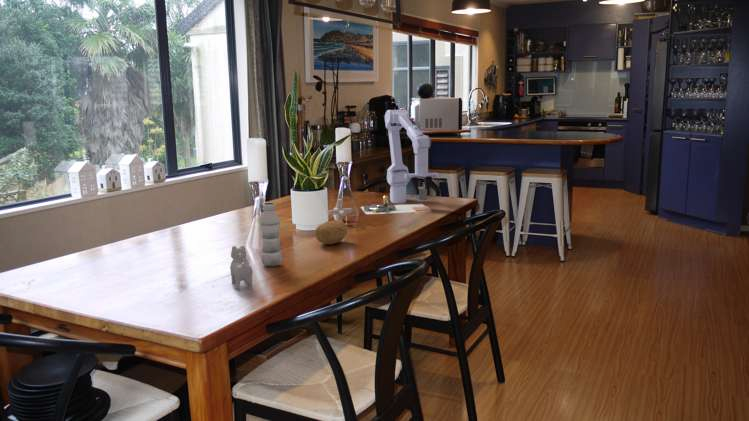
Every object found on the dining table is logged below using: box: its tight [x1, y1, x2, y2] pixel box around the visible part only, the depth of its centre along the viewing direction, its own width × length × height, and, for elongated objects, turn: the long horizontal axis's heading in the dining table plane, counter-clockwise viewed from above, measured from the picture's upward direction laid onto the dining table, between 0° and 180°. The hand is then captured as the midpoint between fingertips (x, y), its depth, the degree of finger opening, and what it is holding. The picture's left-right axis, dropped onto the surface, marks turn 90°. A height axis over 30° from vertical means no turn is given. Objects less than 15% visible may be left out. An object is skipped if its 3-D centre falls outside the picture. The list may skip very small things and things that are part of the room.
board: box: [360, 203, 432, 215], centre depth 276 cm, size 17×29×2 cm, turn 100°
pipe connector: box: [327, 198, 353, 221], centre depth 253 cm, size 10×10×10 cm
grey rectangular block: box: [415, 186, 428, 201], centre depth 272 cm, size 6×4×5 cm, turn 10°
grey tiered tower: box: [258, 202, 283, 267], centre depth 194 cm, size 6×7×20 cm
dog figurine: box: [229, 245, 254, 291], centre depth 177 cm, size 5×13×11 cm, turn 23°
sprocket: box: [363, 195, 396, 214], centre depth 274 cm, size 14×14×6 cm
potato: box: [314, 219, 348, 246], centre depth 221 cm, size 10×14×8 cm
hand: (421, 194), depth 273 cm, fingers closed on grey rectangular block, 3 cm apart
